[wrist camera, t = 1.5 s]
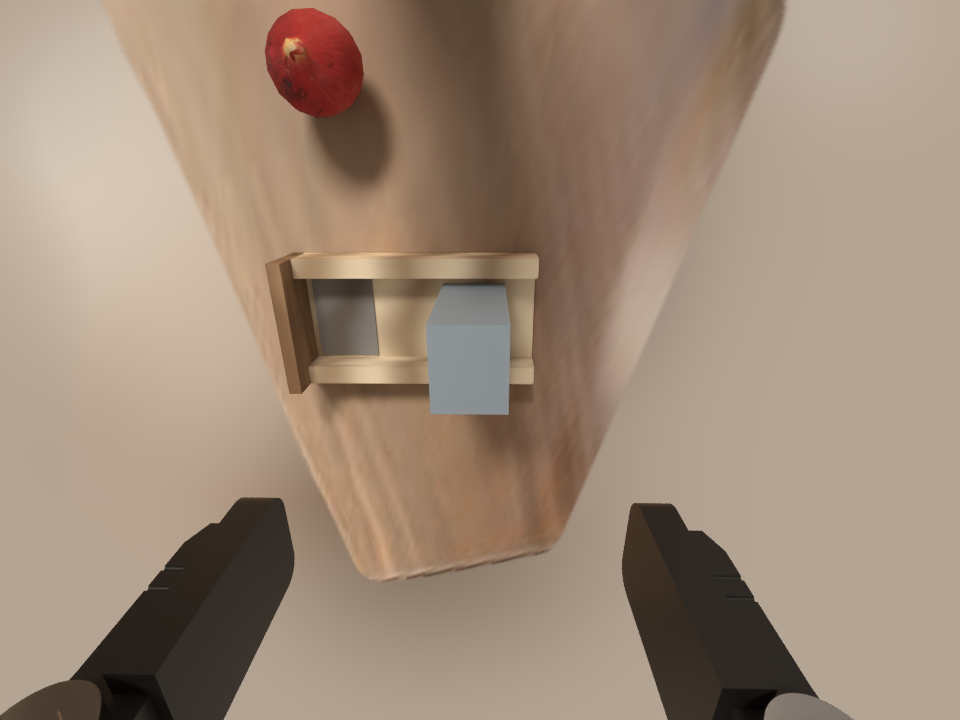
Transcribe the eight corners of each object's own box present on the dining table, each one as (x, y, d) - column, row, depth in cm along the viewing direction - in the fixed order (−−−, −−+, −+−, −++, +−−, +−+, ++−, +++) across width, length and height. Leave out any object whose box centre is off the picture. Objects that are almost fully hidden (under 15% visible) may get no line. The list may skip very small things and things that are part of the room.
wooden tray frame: (535, 252, 37) (541, 263, 32) (530, 369, 41) (535, 394, 36) (293, 252, 37) (265, 264, 32) (311, 369, 41) (289, 393, 36)
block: (504, 282, 36) (510, 325, 26) (503, 351, 39) (508, 414, 29) (443, 282, 37) (425, 325, 26) (446, 351, 39) (430, 414, 29)
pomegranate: (343, 140, 34) (303, 131, 26) (278, 81, 32) (216, 54, 25) (390, 73, 32) (360, 42, 25) (323, 7, 31) (271, -45, 23)
